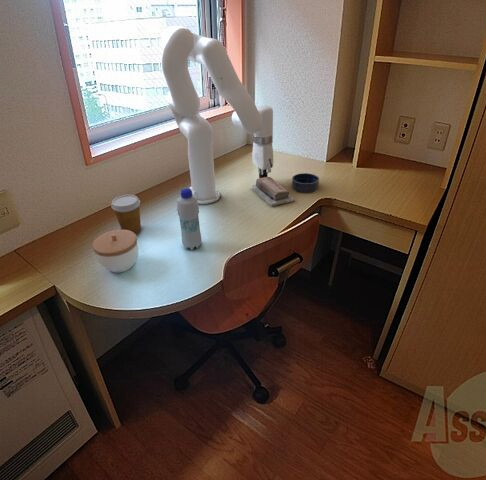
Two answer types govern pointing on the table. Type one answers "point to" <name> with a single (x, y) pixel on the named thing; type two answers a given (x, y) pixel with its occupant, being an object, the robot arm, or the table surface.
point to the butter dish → (271, 191)
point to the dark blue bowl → (305, 182)
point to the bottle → (189, 219)
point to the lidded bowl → (116, 250)
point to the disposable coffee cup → (127, 212)
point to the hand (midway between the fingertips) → (263, 181)
